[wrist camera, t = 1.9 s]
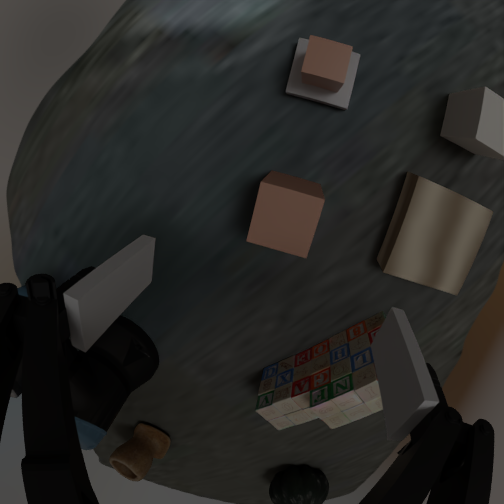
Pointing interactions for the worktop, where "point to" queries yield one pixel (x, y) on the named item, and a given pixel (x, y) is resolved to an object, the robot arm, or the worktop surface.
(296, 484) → the squash
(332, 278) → the worktop surface
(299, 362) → the stack of blocks
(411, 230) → the birch base block
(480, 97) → the off-white block
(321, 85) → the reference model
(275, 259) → the worktop surface
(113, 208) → the worktop surface
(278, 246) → the terracotta block
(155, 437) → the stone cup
